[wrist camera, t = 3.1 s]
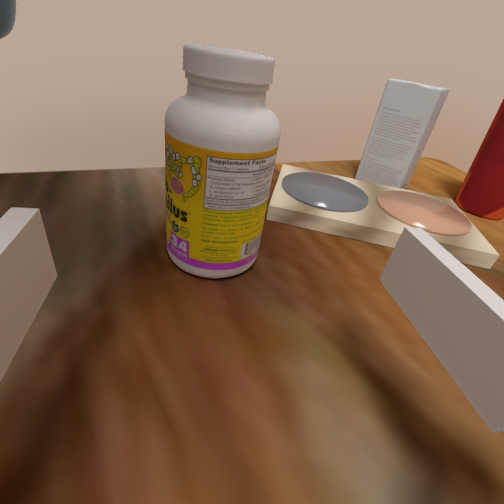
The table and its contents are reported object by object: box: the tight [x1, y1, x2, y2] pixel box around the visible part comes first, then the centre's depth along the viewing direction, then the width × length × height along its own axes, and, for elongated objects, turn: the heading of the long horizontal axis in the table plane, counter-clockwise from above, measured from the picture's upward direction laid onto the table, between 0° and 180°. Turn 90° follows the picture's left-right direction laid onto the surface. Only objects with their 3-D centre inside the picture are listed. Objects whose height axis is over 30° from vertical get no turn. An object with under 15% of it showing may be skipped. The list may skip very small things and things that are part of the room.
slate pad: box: [282, 172, 369, 212], centre depth 32 cm, size 9×9×1 cm
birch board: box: [266, 164, 500, 269], centre depth 32 cm, size 20×12×2 cm, turn 79°
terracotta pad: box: [377, 190, 472, 236], centre depth 31 cm, size 9×9×1 cm
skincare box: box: [355, 79, 449, 189], centre depth 38 cm, size 6×4×12 cm
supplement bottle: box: [165, 44, 280, 278], centre depth 20 cm, size 7×7×13 cm
